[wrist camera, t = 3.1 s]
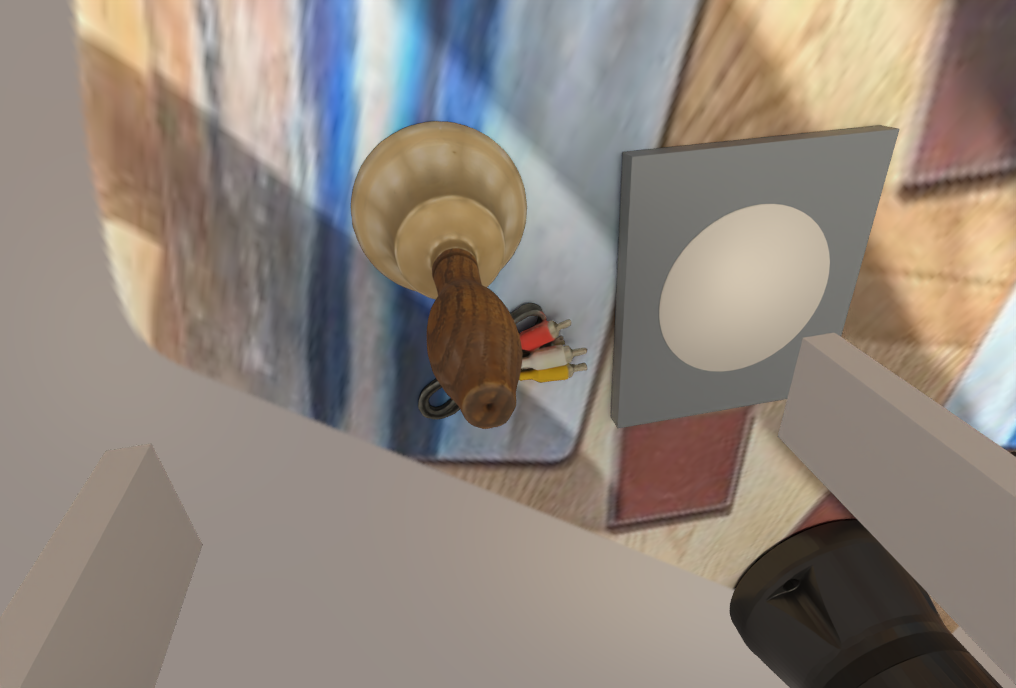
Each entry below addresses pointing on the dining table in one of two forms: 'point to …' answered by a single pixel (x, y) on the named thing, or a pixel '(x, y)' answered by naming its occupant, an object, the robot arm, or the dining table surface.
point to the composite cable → (524, 358)
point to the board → (736, 264)
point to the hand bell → (450, 252)
